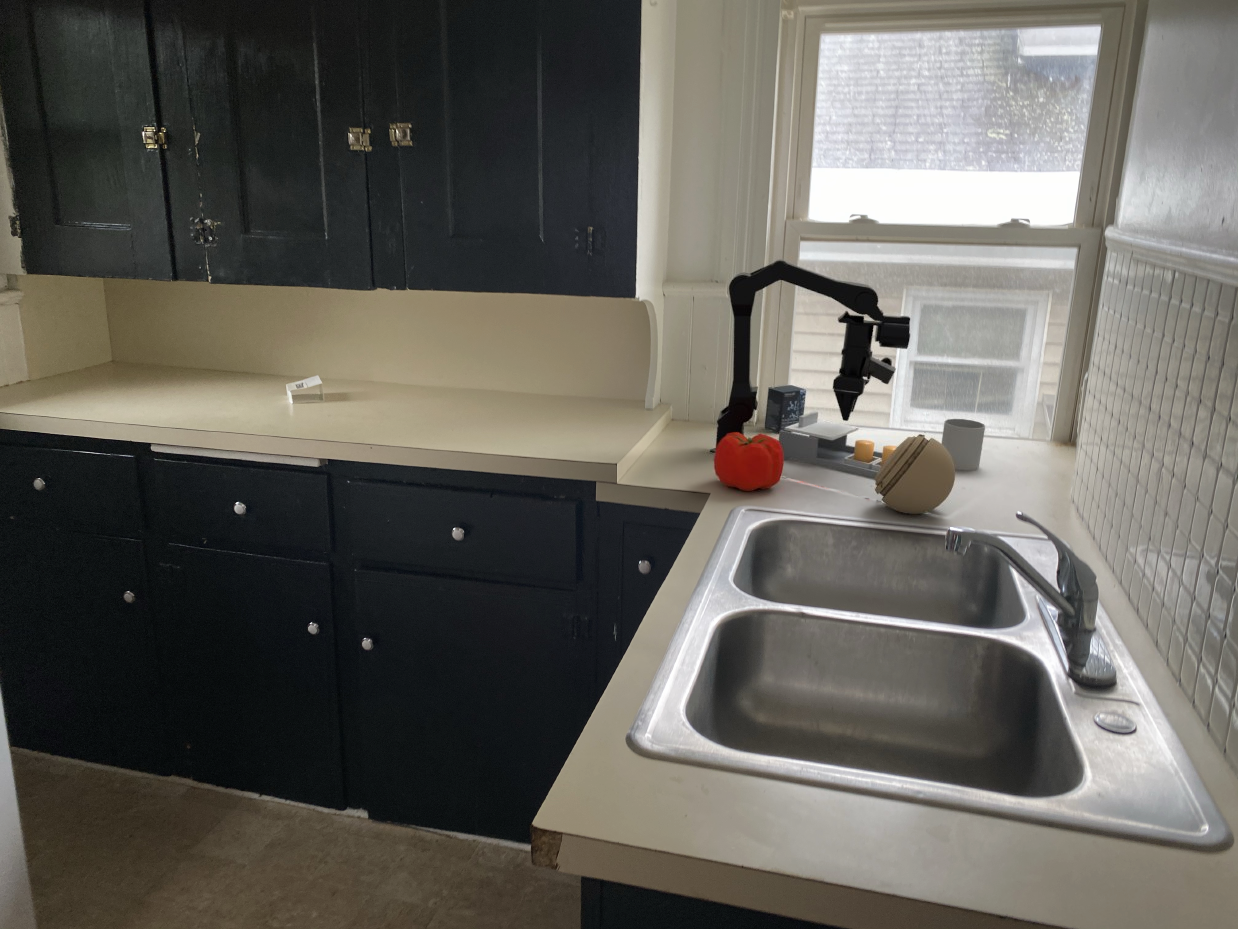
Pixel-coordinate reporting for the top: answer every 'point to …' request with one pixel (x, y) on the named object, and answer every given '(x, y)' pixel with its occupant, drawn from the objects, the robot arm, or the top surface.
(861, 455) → the orange rounded cylinder
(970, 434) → the cup
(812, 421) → the lid
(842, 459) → the housing
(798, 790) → the top surface
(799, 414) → the box
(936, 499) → the mechanical component
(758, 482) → the tomato
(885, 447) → the orange cylinder
